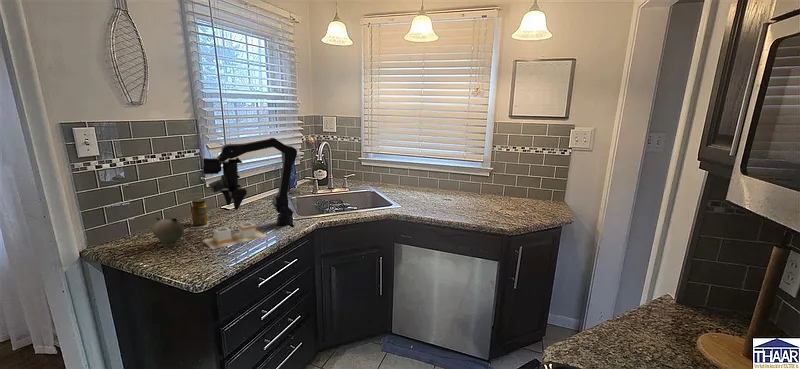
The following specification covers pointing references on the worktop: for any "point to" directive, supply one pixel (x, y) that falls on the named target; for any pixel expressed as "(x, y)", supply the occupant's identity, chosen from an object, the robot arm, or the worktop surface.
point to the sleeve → (222, 235)
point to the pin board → (236, 239)
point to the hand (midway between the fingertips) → (232, 207)
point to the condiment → (199, 214)
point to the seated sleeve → (247, 230)
